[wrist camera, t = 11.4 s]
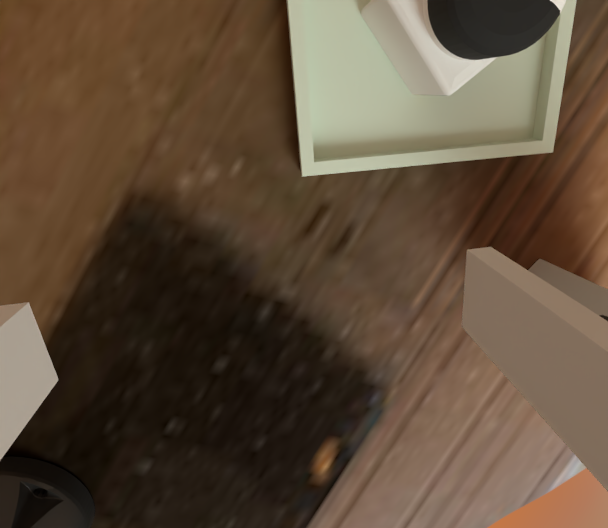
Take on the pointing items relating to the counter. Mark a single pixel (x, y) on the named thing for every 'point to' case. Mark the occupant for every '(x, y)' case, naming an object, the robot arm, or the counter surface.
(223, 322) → the counter surface
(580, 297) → the soap bottle
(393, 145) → the tray
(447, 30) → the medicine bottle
